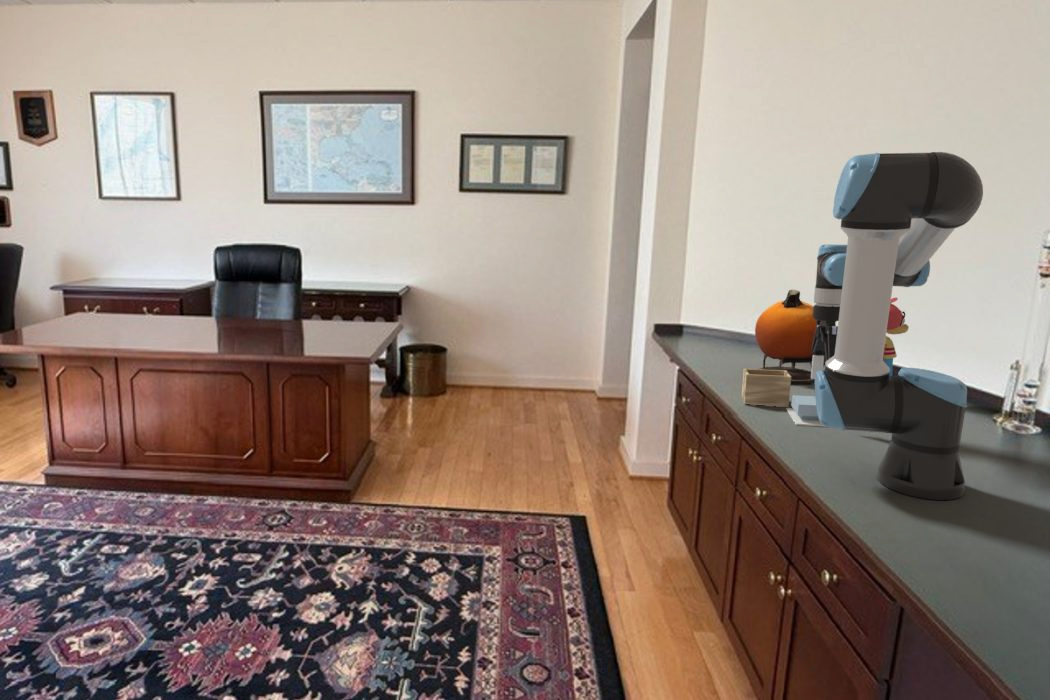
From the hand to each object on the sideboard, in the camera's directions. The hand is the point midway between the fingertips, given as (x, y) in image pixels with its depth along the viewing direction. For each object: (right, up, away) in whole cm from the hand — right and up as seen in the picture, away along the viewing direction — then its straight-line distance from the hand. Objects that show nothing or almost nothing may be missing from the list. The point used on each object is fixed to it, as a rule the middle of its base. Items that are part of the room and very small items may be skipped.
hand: (822, 384), depth 169 cm
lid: (0, -7, +2) cm, 8 cm away
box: (-9, -6, +17) cm, 20 cm away
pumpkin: (+10, 0, +47) cm, 48 cm away
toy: (+30, -5, +24) cm, 39 cm away
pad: (0, -9, +3) cm, 10 cm away
